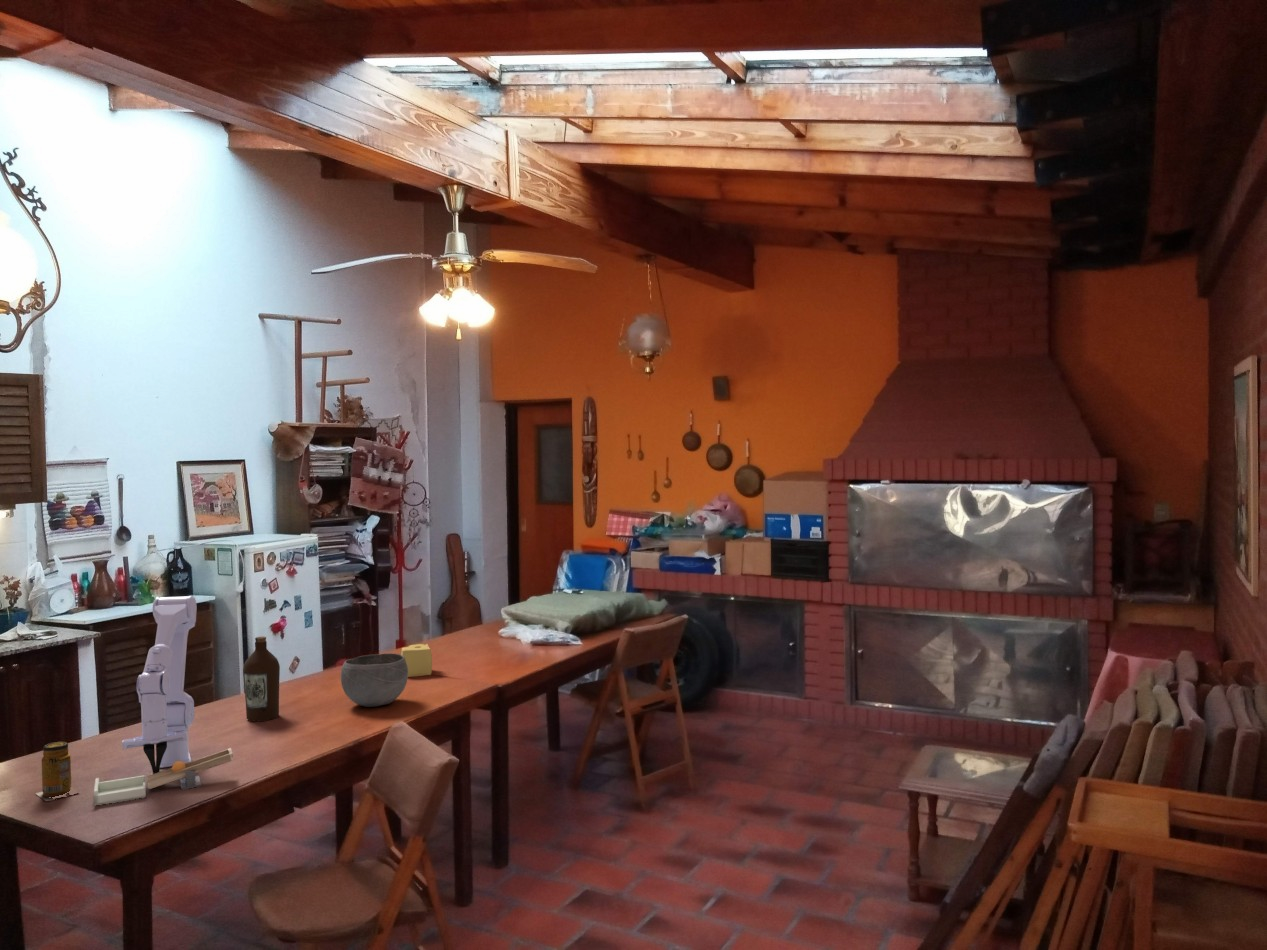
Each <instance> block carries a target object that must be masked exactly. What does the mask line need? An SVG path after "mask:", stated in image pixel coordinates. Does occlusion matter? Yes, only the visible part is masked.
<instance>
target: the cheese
mask: <svg viewBox="0 0 1267 950" xmlns="http://www.w3.org/2000/svg"><path fill="white" fill-rule="evenodd" d="M400 655H403V656H404V658H405V660H406V663H407V667H408V678H413V677H422V676H431V675H432V670H433V654H432V651H431V648H430V646H429V644H428V643H418V644H411V645H408V646H407V647H406V646H404V647H401V651H400Z"/></svg>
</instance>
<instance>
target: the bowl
mask: <svg viewBox="0 0 1267 950" xmlns="http://www.w3.org/2000/svg"><path fill="white" fill-rule="evenodd" d="M408 678H409V677H408V667H407V663H406V660H405V658H404V656H403V655H401V653H400V654H398V653H393V652H392V653H378V654H376V653H374V654H367V655H361V656H357V657H356V656H355V657H353V658H350V659H347V660H345V661H344V662H343V664H342V666H341V670H340V684H341V686H342V689H343V692H344V694H345V695H346V697H348V699H349V700H350V701H351V702H352V703H355V704H356V705H358V706H360V707H366V708H373V707H380V706H386V705H388V704H391V703H392V702H394V701H395V700H396V699H398V697H400V695H402V694H403V692H404V690H405V688H406V686H407V682H408Z"/></svg>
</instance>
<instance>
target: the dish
mask: <svg viewBox="0 0 1267 950" xmlns="http://www.w3.org/2000/svg"><path fill="white" fill-rule="evenodd" d="M146 790H147V789H146V775H139V776H138V775H137V776H132V777H124V778H118V779H112V780H105V781H100V777H96V778H95V781H94V789H93V799H94V802H93V803H94V807H97V806H96V805H100V806H103V805H102V804H106V805H110V804H109V803H112V804H117V802H118V803H122V802H123V801H124V802H130V801H135V799H136V800H140V799H139V798H142V799H145V798H144V797H147V794H146V792H147V791H146ZM129 800H130V801H129Z"/></svg>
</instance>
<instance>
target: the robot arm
mask: <svg viewBox="0 0 1267 950" xmlns="http://www.w3.org/2000/svg"><path fill="white" fill-rule="evenodd" d="M197 610H198V608H197V600H196V598H195V597H194V595H187V596H184V595H183V596H166V597H165V596H156V597H155V599H154V600H153V602H152V615H153V618H154V621H155V623H156V624H157V627H156V634H155V643H154V645H153V646H152V647H150V648H149V650H148V653H147V656H146V659H145V663H144V664H145V665H144V667H143V671H142V673H141V674H139V675H138V677H137V680H136V693H137V696H138V703H140V708H141V710H140V712H141V714H140V715H141V718H140V719H141V736H136V737H133V738H128V739H122V741H121V744H122V745H121V747H122V749H121V750H123V751H124V750H128V749H131V748H140V747H142V748H143V752H144V754H145V755H146V757H147V759H148V761H149V764H150V767H151V771H152V773H153V774H155V773H158V772H159V770H161V768H168V767H172V766H173V764H174V763H175V762H177V761H182V762H184V764H185V763H188V762H191V761H192V759H191V754H190V753H191V752H189V728H190V727H191V726H192V725H193V723H194V720H195V715H196V714H195V713H196V712H195V701H194V698H193V697H192V696H191V695H189V693H187V692H185V691H184V687H185V674H186V673H185V672H186V662H187V661H186V659H187V649H188V648H187V646H188V645H187V644H188V636H189V631H190V630H191V629H192V628H194V627H195V626H196V623H197ZM155 756H156V757H155ZM155 758H156V759H155Z"/></svg>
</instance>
